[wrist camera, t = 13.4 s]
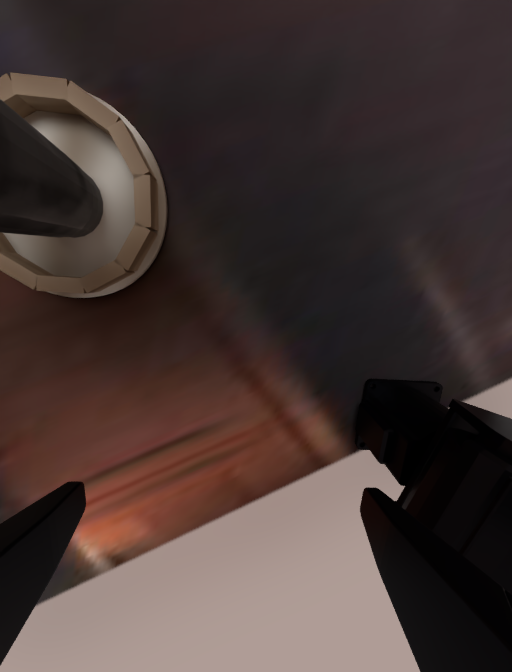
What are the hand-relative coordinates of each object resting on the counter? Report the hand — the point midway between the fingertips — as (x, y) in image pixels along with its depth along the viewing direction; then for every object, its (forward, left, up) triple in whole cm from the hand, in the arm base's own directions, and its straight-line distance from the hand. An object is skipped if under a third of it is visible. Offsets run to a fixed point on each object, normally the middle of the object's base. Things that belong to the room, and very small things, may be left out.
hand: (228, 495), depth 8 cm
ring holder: (+12, -11, -13) cm, 21 cm away
